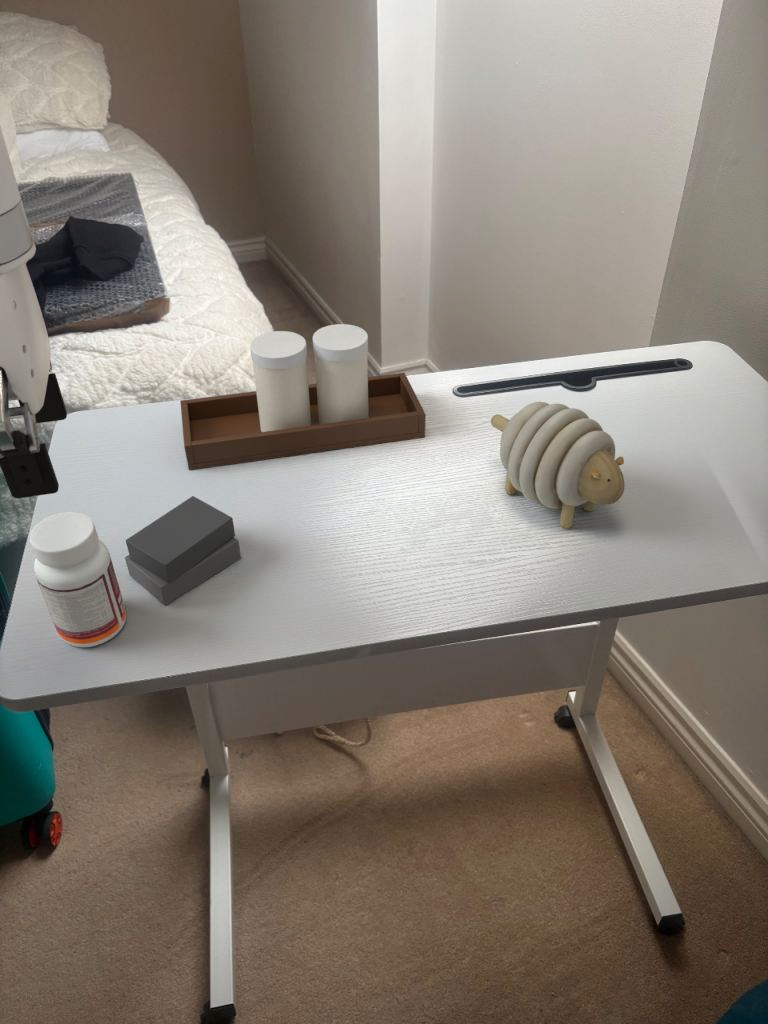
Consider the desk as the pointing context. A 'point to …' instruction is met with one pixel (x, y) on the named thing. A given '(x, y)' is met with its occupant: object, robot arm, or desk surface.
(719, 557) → the desk surface
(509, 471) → the toy sheep
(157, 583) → the grey books
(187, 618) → the desk surface
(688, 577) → the desk surface
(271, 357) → the white bottle
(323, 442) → the tray
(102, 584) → the pill bottle
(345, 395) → the white bottle
